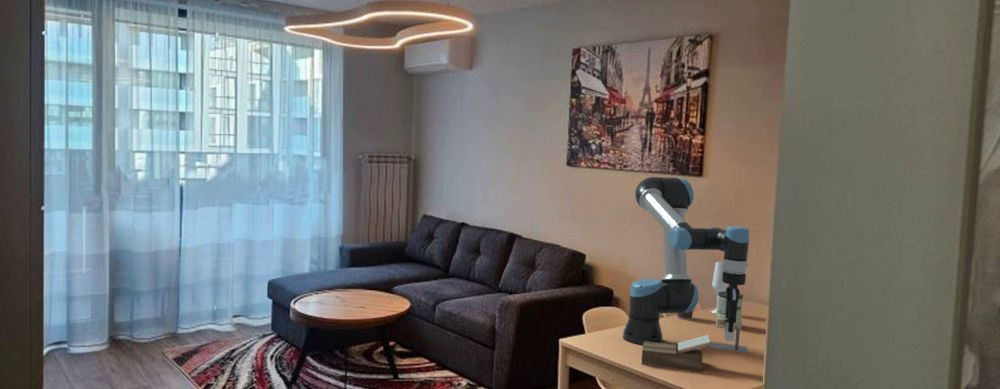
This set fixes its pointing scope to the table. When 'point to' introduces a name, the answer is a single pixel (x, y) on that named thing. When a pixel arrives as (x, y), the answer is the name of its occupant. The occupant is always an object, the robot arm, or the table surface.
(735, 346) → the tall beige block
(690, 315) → the coffee cup
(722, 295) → the coffee can
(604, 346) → the table surface
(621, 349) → the table surface
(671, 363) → the flip board
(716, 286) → the champagne flute
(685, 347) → the tile
